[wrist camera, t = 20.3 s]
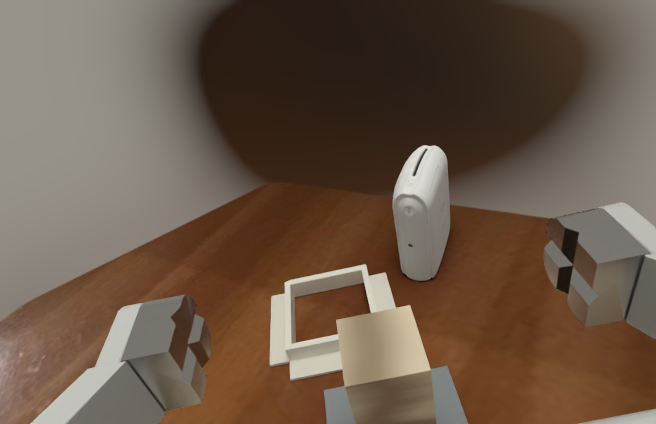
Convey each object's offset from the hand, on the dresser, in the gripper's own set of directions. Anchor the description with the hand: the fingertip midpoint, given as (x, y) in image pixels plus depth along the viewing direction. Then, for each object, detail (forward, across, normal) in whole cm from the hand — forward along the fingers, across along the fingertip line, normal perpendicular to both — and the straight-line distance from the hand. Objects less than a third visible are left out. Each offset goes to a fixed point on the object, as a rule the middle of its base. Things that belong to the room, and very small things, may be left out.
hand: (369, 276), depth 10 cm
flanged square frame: (+24, +4, +28) cm, 37 cm away
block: (+10, 0, +28) cm, 29 cm away
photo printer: (+31, -8, +28) cm, 43 cm away
